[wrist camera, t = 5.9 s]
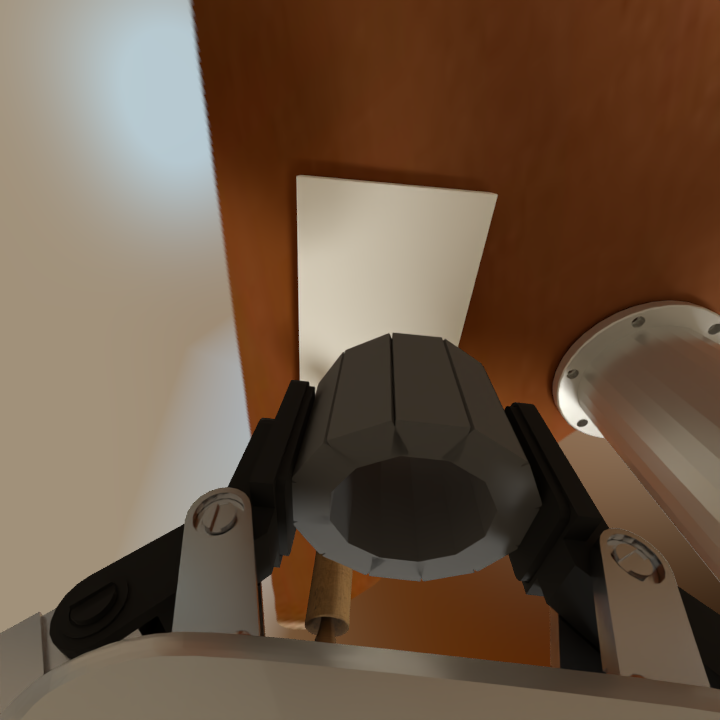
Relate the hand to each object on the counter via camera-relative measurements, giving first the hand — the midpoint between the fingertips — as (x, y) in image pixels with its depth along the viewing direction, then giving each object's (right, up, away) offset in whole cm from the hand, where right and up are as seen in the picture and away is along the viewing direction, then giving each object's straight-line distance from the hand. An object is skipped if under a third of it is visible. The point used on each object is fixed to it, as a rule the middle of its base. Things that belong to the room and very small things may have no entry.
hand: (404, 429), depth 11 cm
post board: (0, +3, +17) cm, 17 cm away
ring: (0, 0, +1) cm, 1 cm away
